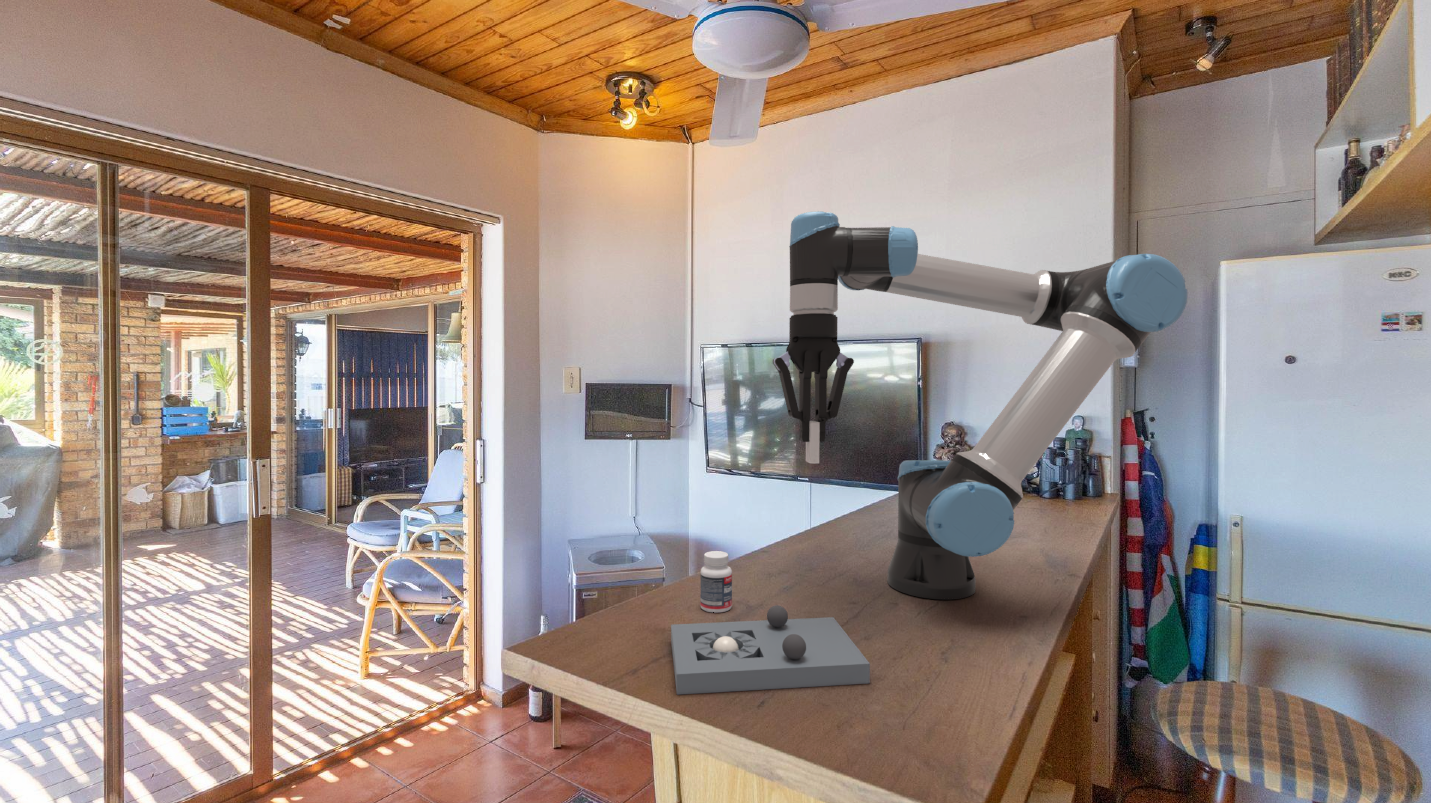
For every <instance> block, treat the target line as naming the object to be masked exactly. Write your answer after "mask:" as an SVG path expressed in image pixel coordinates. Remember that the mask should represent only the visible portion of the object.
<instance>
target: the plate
mask: <svg viewBox="0 0 1431 803" xmlns="http://www.w3.org/2000/svg"><path fill="white" fill-rule="evenodd" d="M670 629H671V630H670V642H671V652H672V661H673V672H674V682H675V691H676V695H691V694H693V695H695V694H709V693H710V694H712V693H727V692H745V691H758V690H759V691H760V690H762V691H763V690H777V689H778V690H779V689H780V690H781V689H795V688H796V689H797V688H812V687H828V686H829V687H830V686H831V687H832V686H845V685H847V686H848V685H849V686H850V685H860V684H861V685H863V684H865V685H866V684H870V683H871V682H870V681H871V680H870V678H871V674H870V671H871V663H870V661H868V659H867V658H866V657H865V656H864V654H863V653H862V652H861V650H860V649H859V647H857V645H856V644H855V643H854V642H853V640H852V639H851V638H850V636H849V635H848V634H847V633H846V631H845V630H844V629H843V628H842V626H841V625H840V624H839V622H838V621H837V620H836V619H835V618H834V616H832V617H831V616H830V617H829V616H828V617H826V616H825V617H810V618H806V617H805V618H788V620H787V622H786V624H785V625H784V626H782V627H779V628H776V627H773V626H772V625H770V624H769V622H768V620H767V619H766V620H765V619H764V620H763V619H761V620H744V621H743V620H742V621H740V620H739V621H724V622H723V621H720V622H702V623H701V622H699V623H680V624H679V623H678V624H677V623H676V624H670ZM791 634H797V635H799V636H801V637H802V638H803V639H804V641H805V643H806V652H805V654H804V655H803V656H802V657H801V658H799V659H795V660H794V659H790V658H788V657H787V656H786V655H785V654H784V652H783V648H782V644H783V641H784V639H785V638H786V637H787V636H788V635H791ZM723 636H728V637H731V638H733V639H734V640H735V641H736V643H737V644H738V648H739V650H737V651H734V652H720V651H715V650H714V649H713V645H714V643H715V641H716V640H717V639H718V638H720V637H723Z"/></svg>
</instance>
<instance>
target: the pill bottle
mask: <svg viewBox="0 0 1431 803" xmlns="http://www.w3.org/2000/svg"><path fill="white" fill-rule="evenodd" d="M703 556H704V557H703V563H704V566H702V567H701V568H700V575H699V576H700V598H699V600H700V602H699V605H700V609H702V610H703V611H704V612H708V613H713V612H714V613H716V614H717V613H718V614H719V613H725V612H727V611H730V610H731V609H732V607H733V570H732V568H731V567H730V566H729V565H728V564H729V561H730V560H729V554H728V552H725V551H720V550H719V551H718V550H713V551H712V550H711V551H707V552H705V553H704V555H703Z"/></svg>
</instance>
